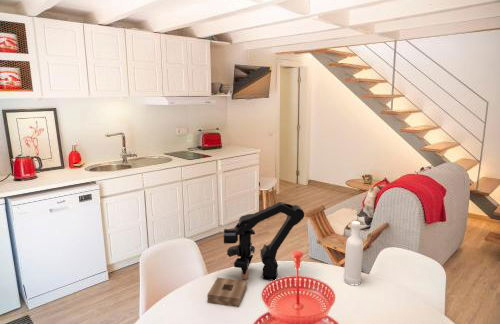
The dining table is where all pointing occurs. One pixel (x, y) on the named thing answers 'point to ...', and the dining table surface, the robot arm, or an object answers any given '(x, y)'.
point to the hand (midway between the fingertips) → (244, 272)
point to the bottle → (353, 256)
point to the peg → (245, 275)
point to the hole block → (227, 292)
